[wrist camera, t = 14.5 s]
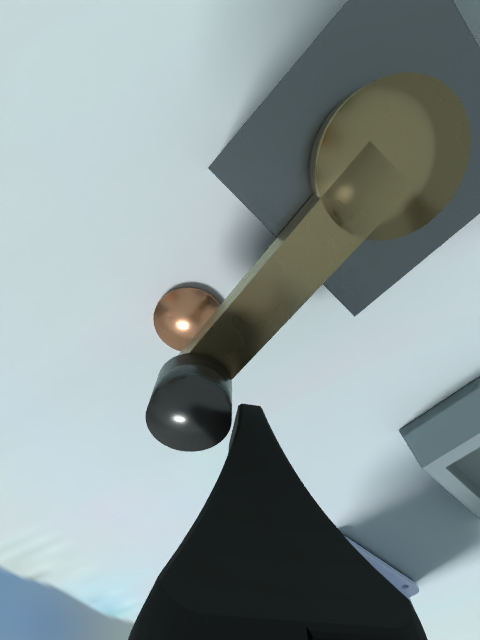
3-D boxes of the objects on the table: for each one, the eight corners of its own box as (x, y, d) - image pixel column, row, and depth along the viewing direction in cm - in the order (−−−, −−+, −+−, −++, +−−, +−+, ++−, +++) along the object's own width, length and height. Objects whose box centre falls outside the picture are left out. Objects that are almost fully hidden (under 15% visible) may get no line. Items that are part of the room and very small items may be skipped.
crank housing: (476, 159, 13) (543, 160, 10) (222, 384, 17) (220, 427, 14) (364, -14, 10) (410, -75, 8) (104, 294, 15) (75, 325, 12)
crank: (385, 42, 9) (449, -7, 6) (476, 152, 10) (562, 150, 7) (133, 363, 13) (109, 415, 10) (218, 414, 14) (216, 472, 11)
